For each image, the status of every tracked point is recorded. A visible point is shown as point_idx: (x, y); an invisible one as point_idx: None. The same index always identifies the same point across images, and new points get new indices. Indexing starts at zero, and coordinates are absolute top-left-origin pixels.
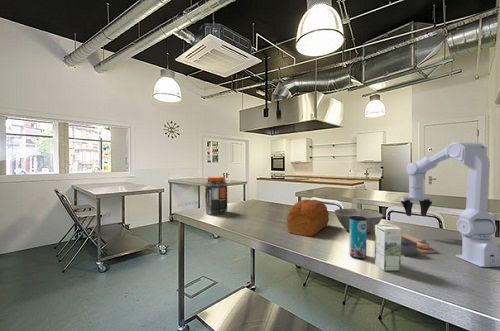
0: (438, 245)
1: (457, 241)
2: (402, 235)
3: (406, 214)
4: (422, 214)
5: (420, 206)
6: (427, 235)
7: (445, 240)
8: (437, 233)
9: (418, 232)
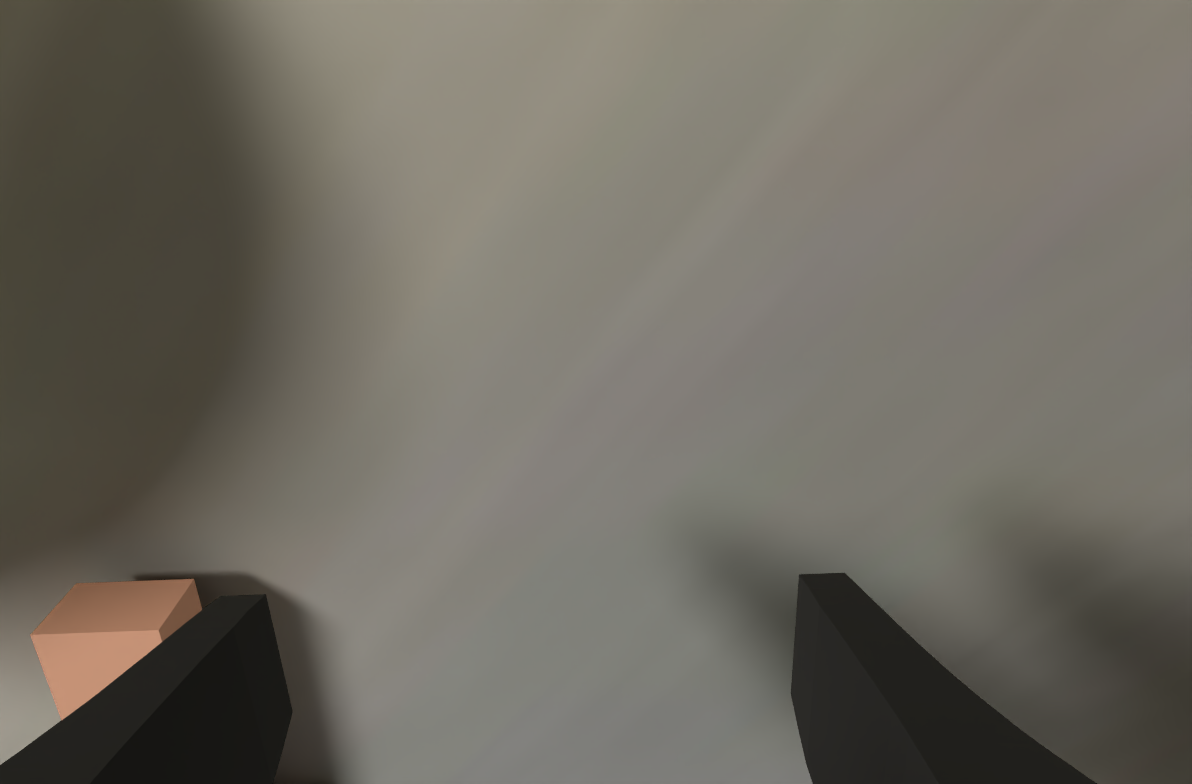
0: (583, 748)
1: (1040, 623)
2: (60, 708)
3: (196, 624)
4: (802, 642)
5: (941, 780)
6: (837, 321)
7: (897, 578)
8: (1183, 200)
9: (829, 105)
